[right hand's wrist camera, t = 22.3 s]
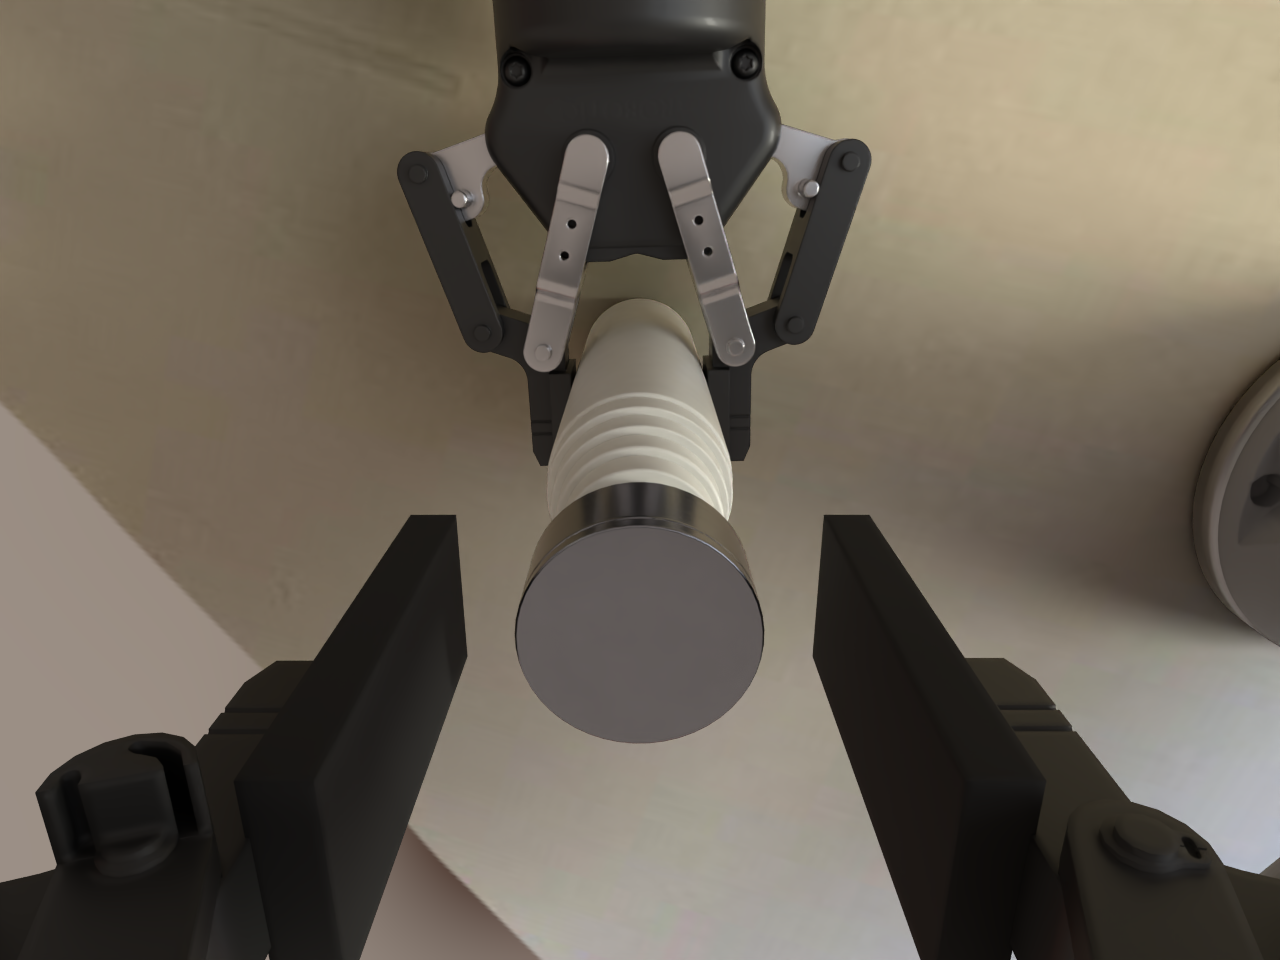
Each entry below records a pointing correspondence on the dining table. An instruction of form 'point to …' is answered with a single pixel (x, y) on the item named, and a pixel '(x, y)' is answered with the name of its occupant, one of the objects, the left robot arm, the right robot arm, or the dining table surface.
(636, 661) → the cap
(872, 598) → the right robot arm
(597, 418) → the bottle
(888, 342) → the dining table surface
